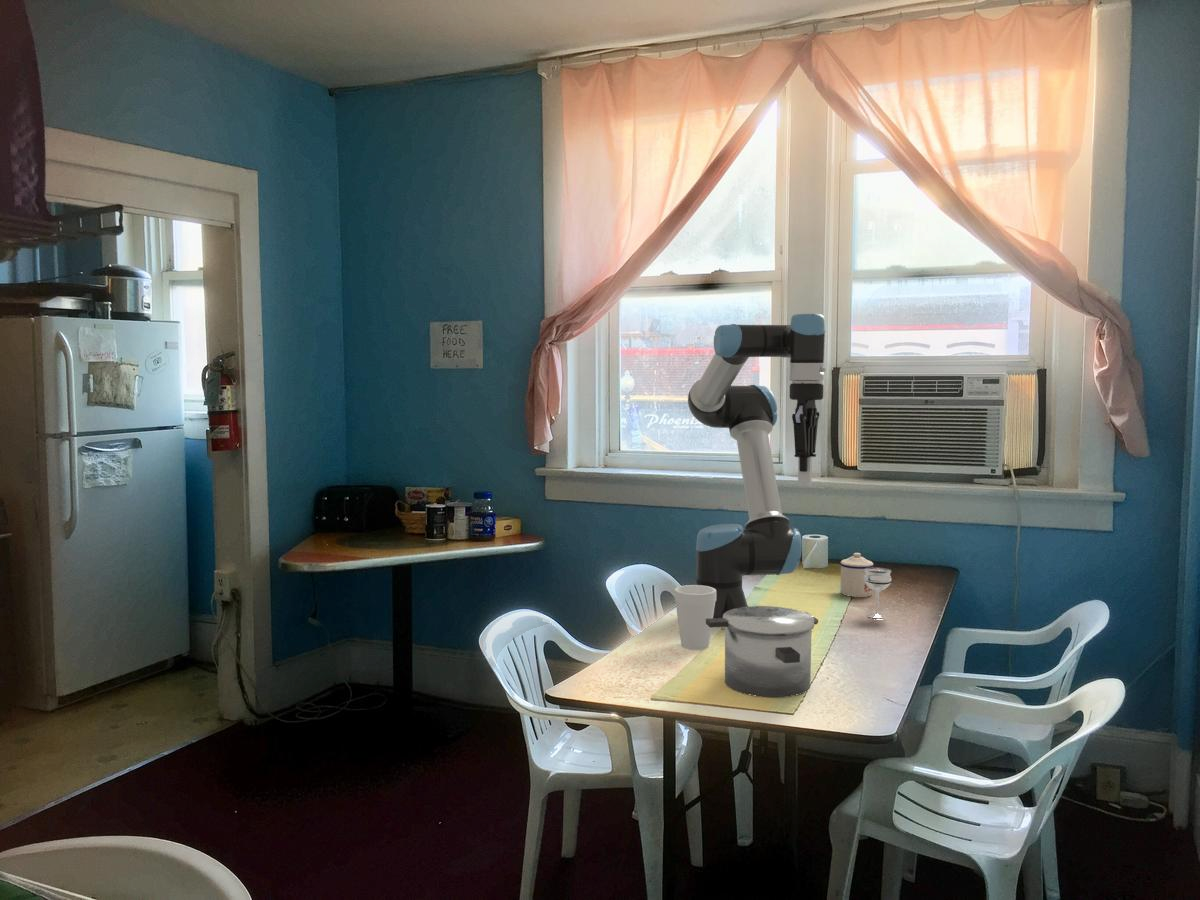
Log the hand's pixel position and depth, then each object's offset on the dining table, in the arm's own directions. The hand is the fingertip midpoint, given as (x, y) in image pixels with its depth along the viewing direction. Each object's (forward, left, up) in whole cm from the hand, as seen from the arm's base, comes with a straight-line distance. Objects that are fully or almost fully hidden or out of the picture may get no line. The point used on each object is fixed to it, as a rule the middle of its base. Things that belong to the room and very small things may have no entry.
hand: (804, 485), depth 213 cm
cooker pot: (+3, -32, -36) cm, 49 cm away
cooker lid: (+2, -33, -24) cm, 41 cm away
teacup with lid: (-1, +53, -37) cm, 64 cm away
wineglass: (+10, +30, -37) cm, 48 cm away
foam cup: (-20, -16, -37) cm, 45 cm away
